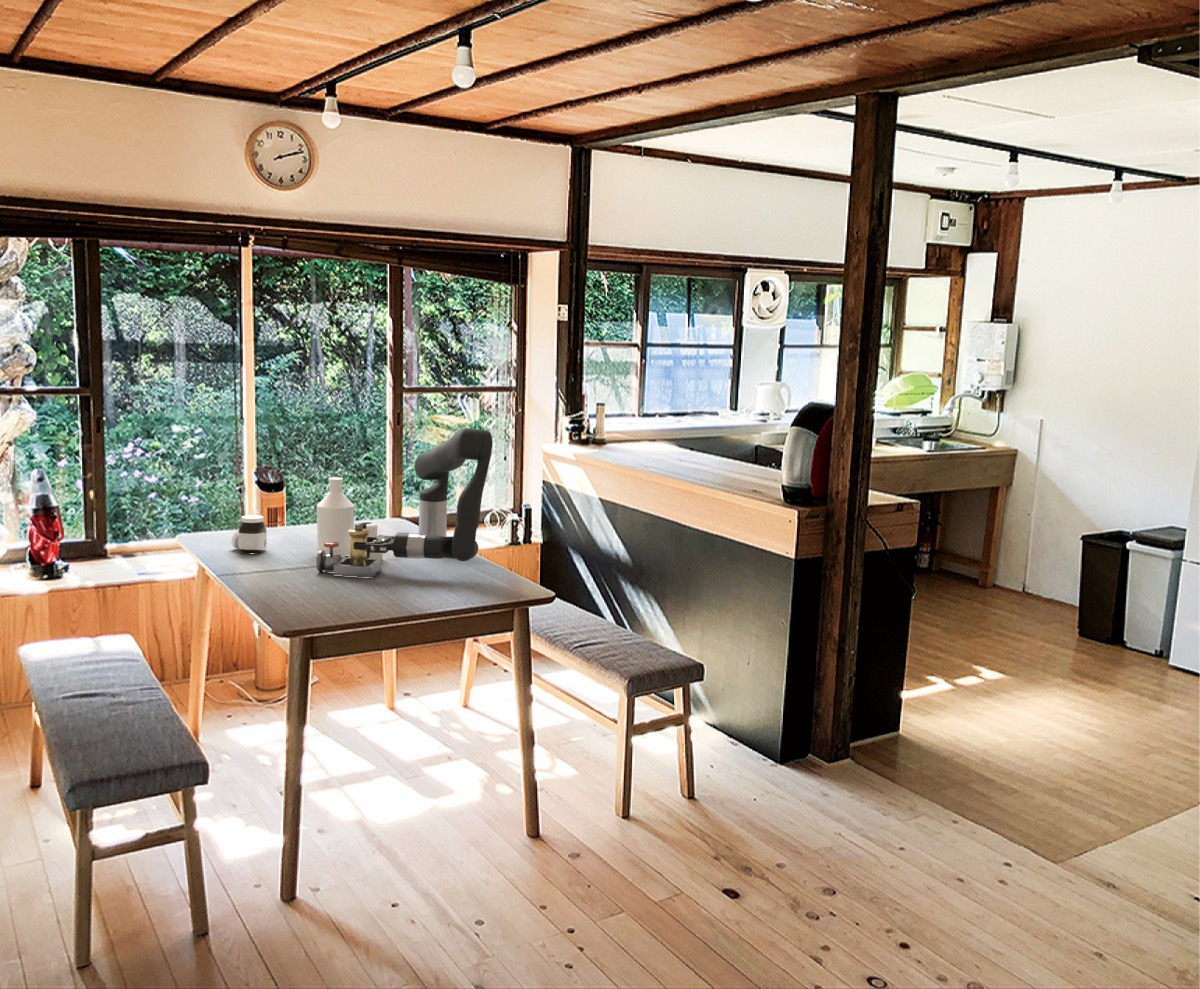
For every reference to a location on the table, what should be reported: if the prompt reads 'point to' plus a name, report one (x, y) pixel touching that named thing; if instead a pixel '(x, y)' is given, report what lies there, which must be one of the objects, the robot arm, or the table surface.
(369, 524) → the medicine bottle
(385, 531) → the table surface
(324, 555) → the grey piece
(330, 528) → the bottle
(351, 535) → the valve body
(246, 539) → the spread jar
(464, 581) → the table surface
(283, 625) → the table surface
